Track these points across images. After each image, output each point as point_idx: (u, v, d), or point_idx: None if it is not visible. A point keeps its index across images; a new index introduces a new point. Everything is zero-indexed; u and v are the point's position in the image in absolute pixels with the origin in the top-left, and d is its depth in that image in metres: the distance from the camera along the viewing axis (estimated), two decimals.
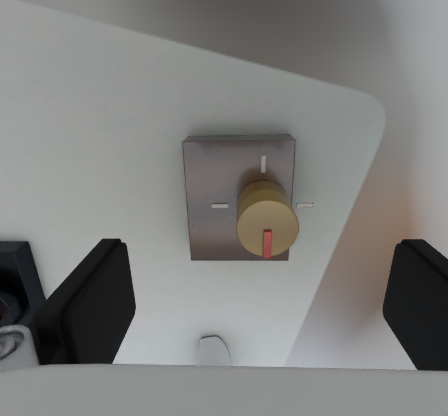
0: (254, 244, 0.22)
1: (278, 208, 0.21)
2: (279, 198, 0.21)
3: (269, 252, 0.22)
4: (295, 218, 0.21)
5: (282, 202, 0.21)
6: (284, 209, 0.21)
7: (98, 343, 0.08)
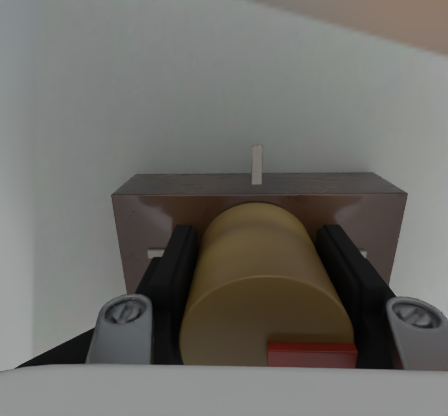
0: None
1: (199, 325, 0.07)
2: (188, 298, 0.08)
3: (337, 355, 0.07)
4: (231, 285, 0.07)
5: (186, 310, 0.08)
6: (203, 313, 0.07)
7: None
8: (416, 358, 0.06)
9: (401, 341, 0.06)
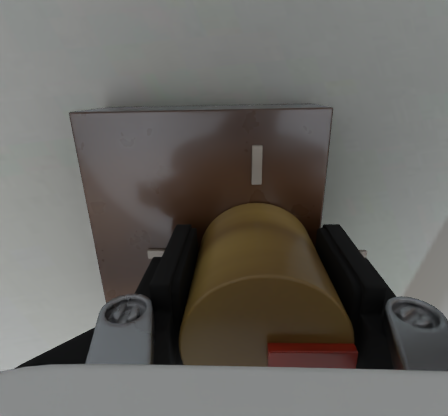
0: None
1: (199, 327, 0.07)
2: (188, 299, 0.08)
3: (337, 356, 0.07)
4: (230, 286, 0.07)
5: (186, 312, 0.08)
6: (203, 315, 0.07)
7: None
8: (416, 358, 0.06)
9: (401, 341, 0.06)
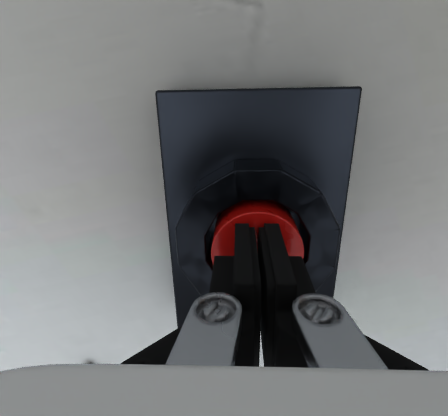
0: None
1: None
2: None
3: None
4: None
5: None
6: None
7: None
8: (330, 359, 0.06)
9: (314, 344, 0.06)
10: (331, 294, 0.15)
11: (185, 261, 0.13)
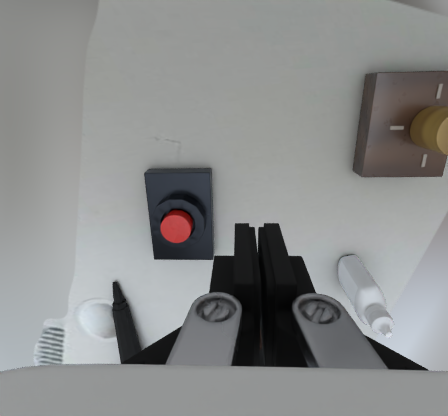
0: None
1: (445, 125, 0.28)
2: (435, 123, 0.29)
3: None
4: None
5: (441, 122, 0.28)
6: (447, 121, 0.28)
7: None
8: (330, 359, 0.06)
9: (314, 344, 0.06)
10: (211, 243, 0.40)
11: (154, 229, 0.37)
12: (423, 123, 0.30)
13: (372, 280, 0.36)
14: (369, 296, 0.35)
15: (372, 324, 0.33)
